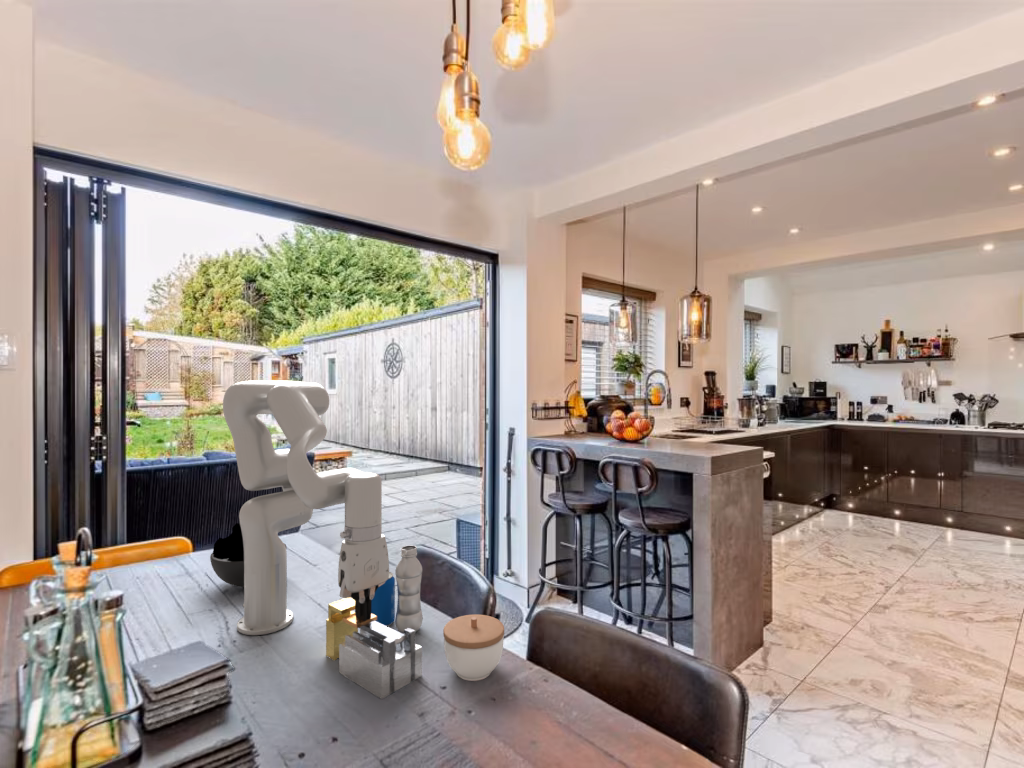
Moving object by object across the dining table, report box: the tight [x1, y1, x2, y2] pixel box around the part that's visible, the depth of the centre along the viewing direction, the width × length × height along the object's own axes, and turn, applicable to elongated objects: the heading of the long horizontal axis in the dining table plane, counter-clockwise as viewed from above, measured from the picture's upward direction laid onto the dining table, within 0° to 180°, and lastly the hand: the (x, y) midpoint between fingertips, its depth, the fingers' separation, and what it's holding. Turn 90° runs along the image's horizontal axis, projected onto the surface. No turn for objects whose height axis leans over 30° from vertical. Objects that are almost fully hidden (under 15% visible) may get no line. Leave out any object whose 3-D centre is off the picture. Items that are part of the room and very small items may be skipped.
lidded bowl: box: [442, 613, 505, 682], centre depth 109 cm, size 13×13×11 cm
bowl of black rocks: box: [209, 522, 287, 588], centre depth 154 cm, size 20×20×19 cm
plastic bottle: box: [394, 544, 424, 634], centre depth 126 cm, size 6×7×20 cm
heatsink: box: [338, 628, 423, 700], centre depth 108 cm, size 14×10×10 cm
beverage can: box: [371, 571, 396, 627], centre depth 130 cm, size 6×6×12 cm
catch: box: [325, 598, 359, 661], centre depth 115 cm, size 5×6×11 cm
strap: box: [343, 613, 408, 645], centre depth 108 cm, size 16×5×1 cm, turn 51°
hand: (363, 618), depth 111 cm, fingers closed
